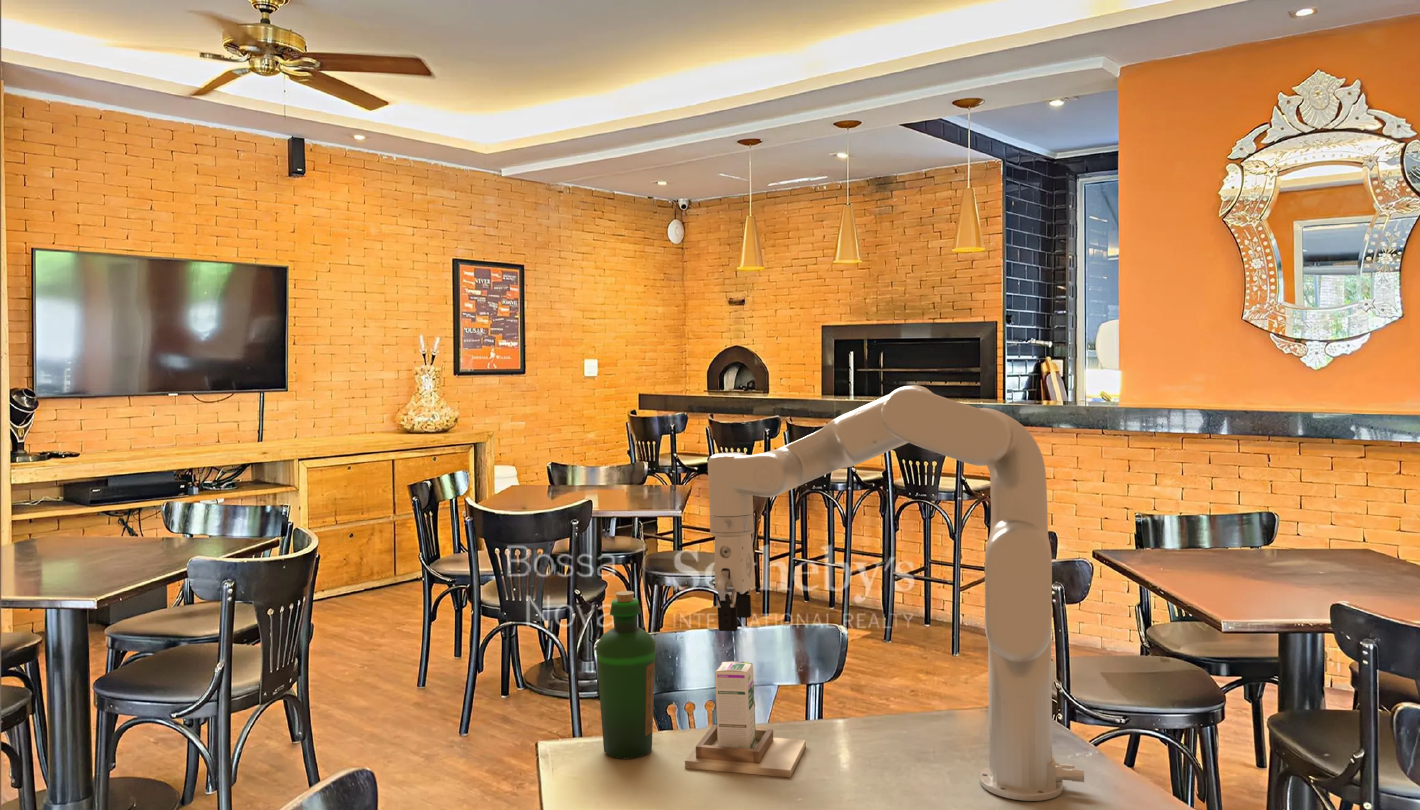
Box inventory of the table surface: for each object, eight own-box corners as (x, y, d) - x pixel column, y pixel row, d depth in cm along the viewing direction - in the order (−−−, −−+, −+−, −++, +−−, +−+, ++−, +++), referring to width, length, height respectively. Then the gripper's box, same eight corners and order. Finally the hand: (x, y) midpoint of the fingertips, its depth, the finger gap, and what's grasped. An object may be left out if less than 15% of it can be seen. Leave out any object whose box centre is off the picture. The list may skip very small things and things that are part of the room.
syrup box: (750, 756, 168) (748, 671, 168) (716, 754, 169) (714, 669, 169) (756, 744, 174) (754, 661, 173) (723, 742, 175) (721, 660, 175)
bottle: (671, 749, 175) (667, 591, 174) (626, 767, 167) (622, 602, 167) (630, 736, 182) (626, 584, 182) (585, 752, 174) (581, 594, 174)
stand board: (805, 746, 175) (805, 728, 175) (790, 777, 162) (790, 758, 162) (707, 738, 180) (707, 721, 180) (684, 767, 167) (684, 749, 167)
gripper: (740, 532, 161) (744, 637, 161) (764, 518, 178) (767, 613, 178) (696, 532, 163) (700, 635, 164) (723, 517, 180) (727, 612, 180)
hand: (735, 623), depth 171 cm, fingers open, 9 cm apart
